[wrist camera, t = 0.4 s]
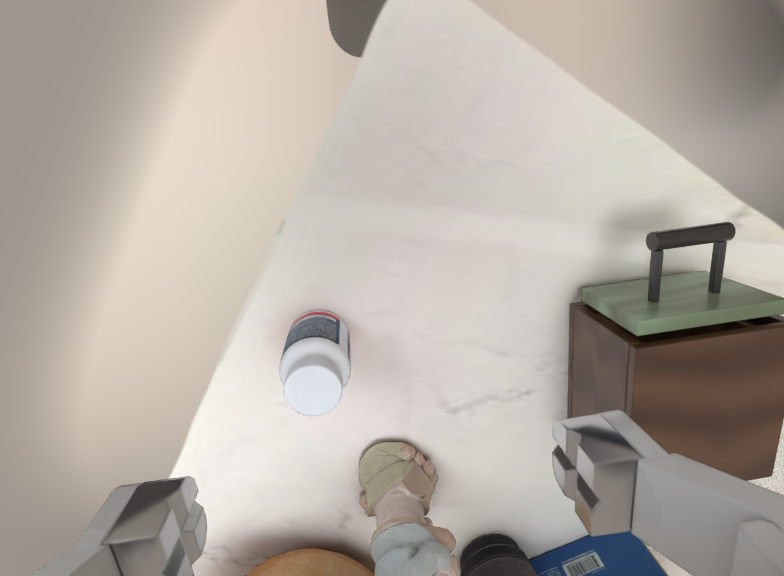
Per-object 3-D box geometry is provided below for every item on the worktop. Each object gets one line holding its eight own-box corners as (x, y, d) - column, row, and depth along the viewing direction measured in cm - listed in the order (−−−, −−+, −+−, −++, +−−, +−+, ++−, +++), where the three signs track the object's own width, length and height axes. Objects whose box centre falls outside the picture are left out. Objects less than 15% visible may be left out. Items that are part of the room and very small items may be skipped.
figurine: (334, 487, 43) (327, 753, 24) (383, 425, 42) (415, 657, 23) (407, 522, 46) (451, 789, 27) (455, 463, 44) (540, 704, 25)
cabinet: (569, 303, 40) (636, 349, 31) (700, 284, 41) (803, 324, 31) (567, 429, 44) (625, 502, 35) (685, 409, 45) (772, 476, 36)
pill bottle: (276, 329, 38) (256, 382, 29) (327, 297, 37) (322, 341, 29) (312, 374, 39) (303, 436, 31) (361, 344, 39) (365, 399, 30)
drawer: (583, 225, 37) (643, 245, 29) (711, 208, 37) (801, 223, 30) (578, 409, 42) (627, 464, 35) (689, 391, 43) (760, 442, 36)
